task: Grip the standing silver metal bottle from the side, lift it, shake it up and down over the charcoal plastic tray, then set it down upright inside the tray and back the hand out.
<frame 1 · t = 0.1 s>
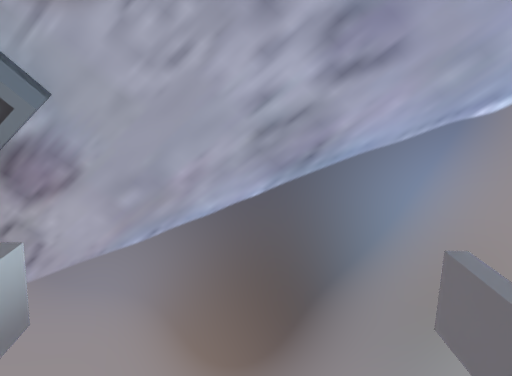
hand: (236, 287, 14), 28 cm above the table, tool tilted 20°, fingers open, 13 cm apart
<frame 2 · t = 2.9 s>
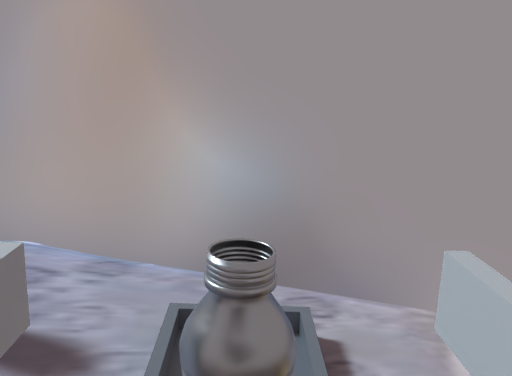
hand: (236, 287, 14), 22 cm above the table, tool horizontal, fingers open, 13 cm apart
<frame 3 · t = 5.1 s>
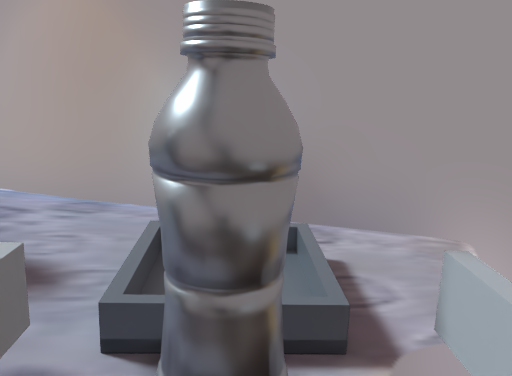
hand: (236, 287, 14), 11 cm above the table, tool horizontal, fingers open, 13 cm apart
tray: (227, 292, 39), on the table
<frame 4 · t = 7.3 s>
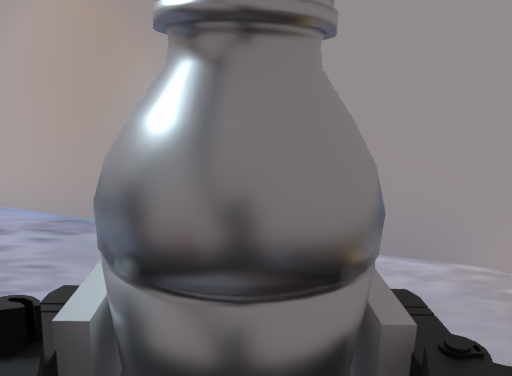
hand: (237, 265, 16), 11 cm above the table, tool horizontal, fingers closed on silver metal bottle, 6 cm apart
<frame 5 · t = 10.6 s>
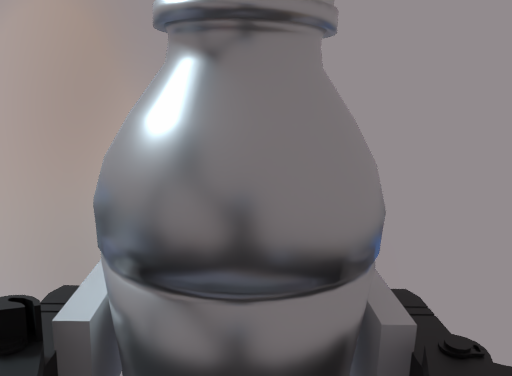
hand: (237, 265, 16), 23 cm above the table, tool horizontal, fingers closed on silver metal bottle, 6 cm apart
when the fingers open (13 cm above the table, at t = 14.2 s): silver metal bottle drops 1 cm, resting on tray.
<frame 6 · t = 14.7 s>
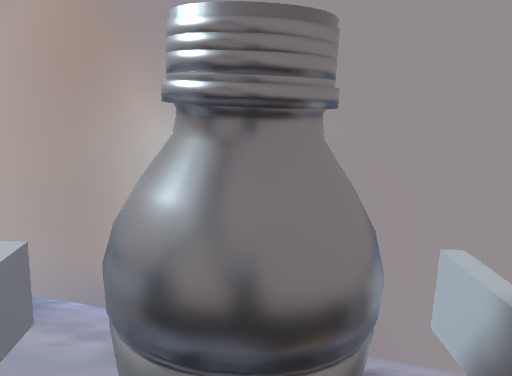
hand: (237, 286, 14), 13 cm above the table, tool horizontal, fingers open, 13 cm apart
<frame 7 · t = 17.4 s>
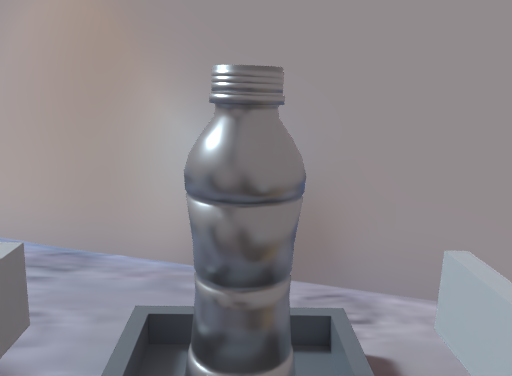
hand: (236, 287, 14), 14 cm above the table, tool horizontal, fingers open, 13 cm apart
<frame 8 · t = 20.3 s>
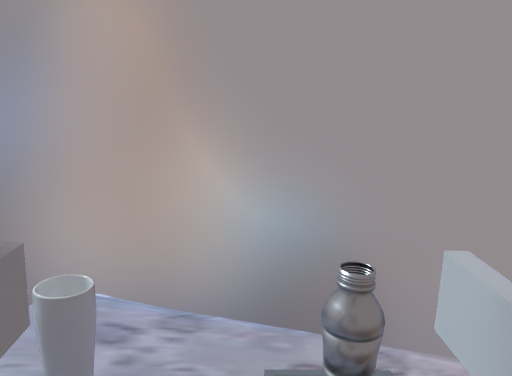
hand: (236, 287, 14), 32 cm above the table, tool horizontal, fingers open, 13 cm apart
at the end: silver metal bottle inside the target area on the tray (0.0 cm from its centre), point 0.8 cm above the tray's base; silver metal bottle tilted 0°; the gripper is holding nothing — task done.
